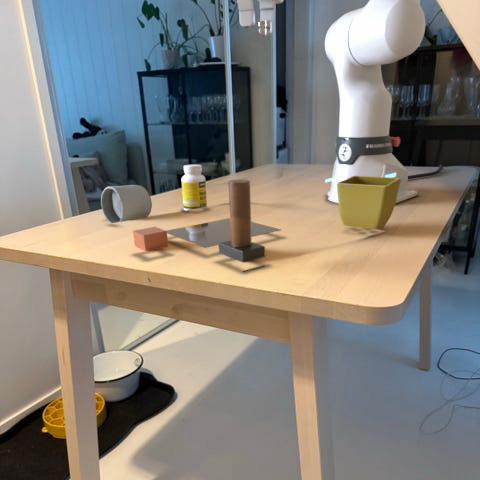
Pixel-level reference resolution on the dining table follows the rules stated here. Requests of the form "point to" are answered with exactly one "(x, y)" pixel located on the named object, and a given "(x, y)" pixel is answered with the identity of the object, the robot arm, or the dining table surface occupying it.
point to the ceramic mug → (125, 203)
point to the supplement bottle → (193, 187)
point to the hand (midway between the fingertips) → (257, 31)
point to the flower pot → (367, 200)
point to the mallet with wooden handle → (240, 225)
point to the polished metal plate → (215, 232)
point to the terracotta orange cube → (150, 238)
